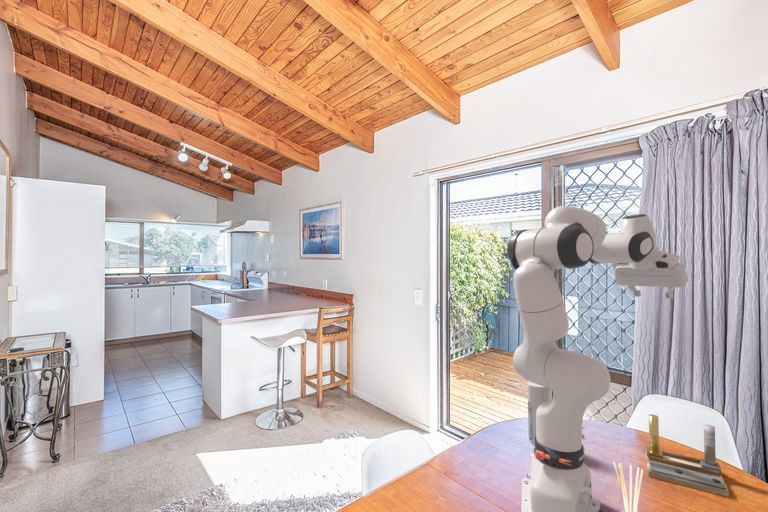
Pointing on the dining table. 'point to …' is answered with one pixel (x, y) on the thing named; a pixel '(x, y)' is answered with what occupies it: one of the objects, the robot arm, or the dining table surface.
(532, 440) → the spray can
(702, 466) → the base
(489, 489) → the dining table surface
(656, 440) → the leg
